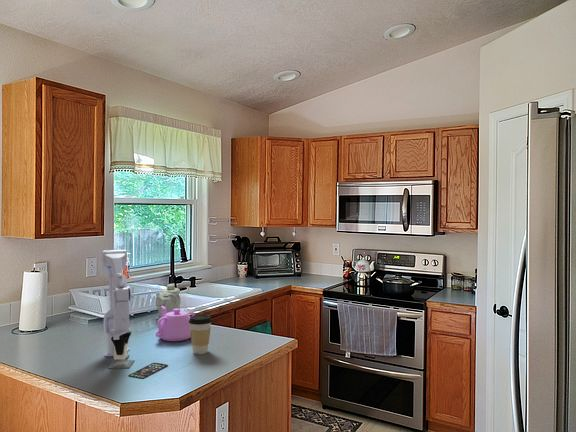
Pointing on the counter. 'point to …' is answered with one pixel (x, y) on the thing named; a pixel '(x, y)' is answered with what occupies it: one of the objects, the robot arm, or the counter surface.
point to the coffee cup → (200, 333)
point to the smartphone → (148, 370)
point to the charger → (121, 355)
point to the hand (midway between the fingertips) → (121, 352)
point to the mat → (121, 364)
